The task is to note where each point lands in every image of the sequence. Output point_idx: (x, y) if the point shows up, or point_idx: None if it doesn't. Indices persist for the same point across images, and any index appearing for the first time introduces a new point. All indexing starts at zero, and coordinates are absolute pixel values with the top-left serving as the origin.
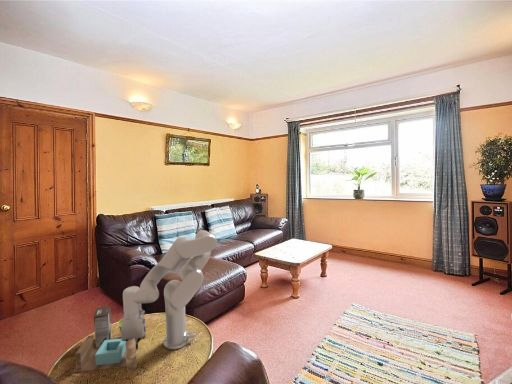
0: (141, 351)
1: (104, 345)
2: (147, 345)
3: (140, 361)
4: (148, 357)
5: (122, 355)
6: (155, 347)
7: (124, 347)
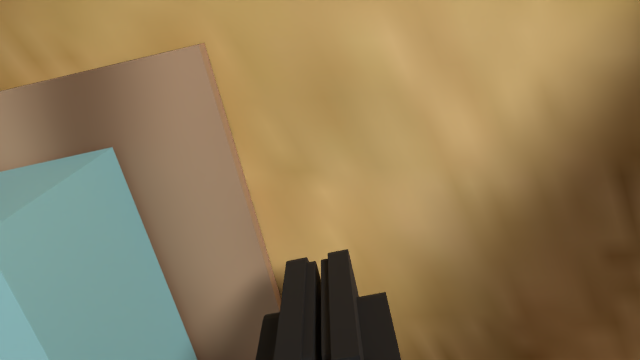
0: (395, 175)
1: None
2: (438, 18)
3: (468, 350)
4: (555, 283)
5: (182, 356)
6: (609, 65)
7: (121, 317)
